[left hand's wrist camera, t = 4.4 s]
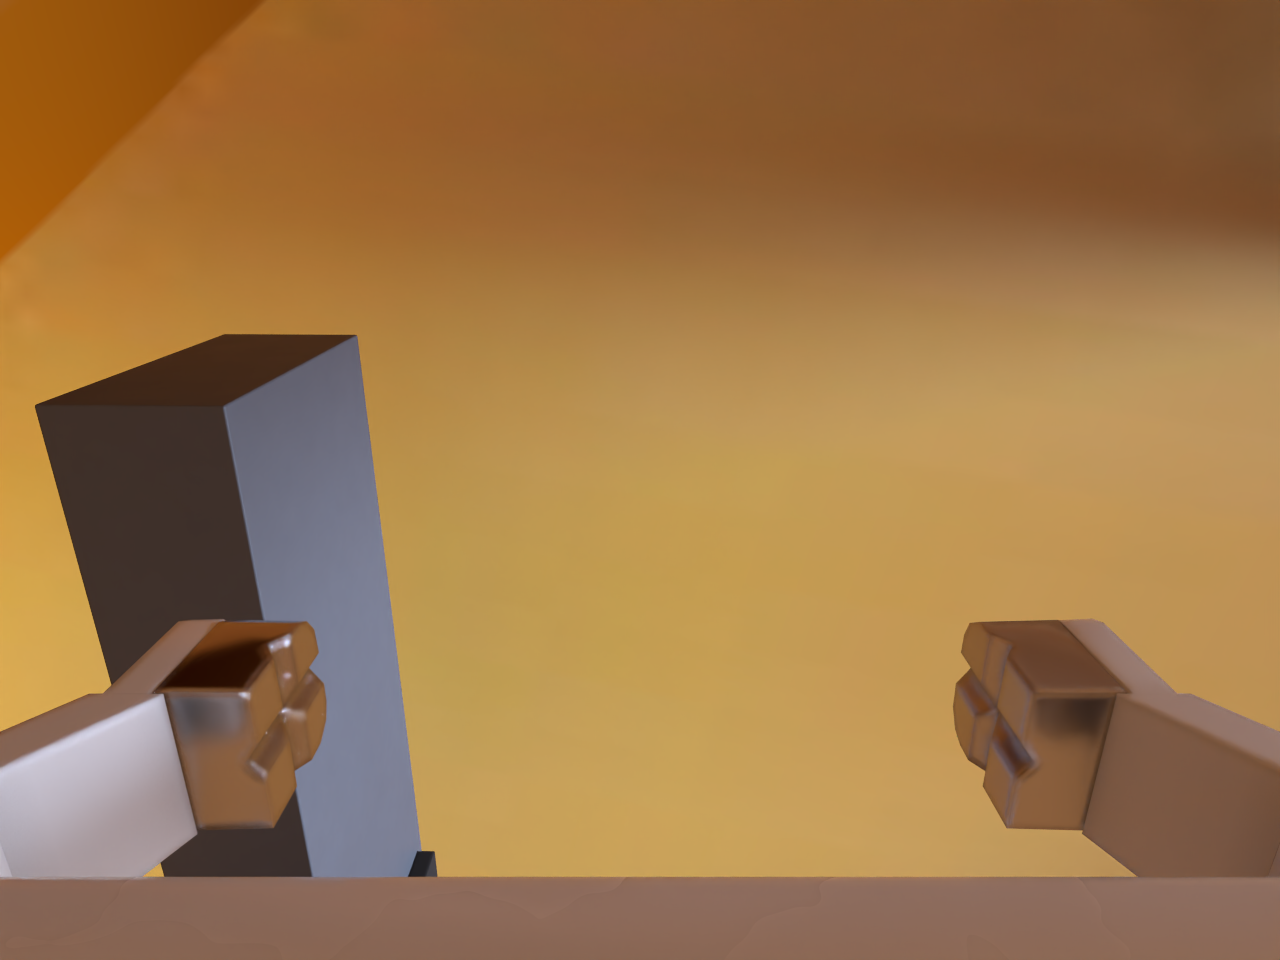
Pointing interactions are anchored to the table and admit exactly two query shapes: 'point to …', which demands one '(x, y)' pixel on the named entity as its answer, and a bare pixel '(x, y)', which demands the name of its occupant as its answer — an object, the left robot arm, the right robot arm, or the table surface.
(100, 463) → the bar
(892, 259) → the table surface
